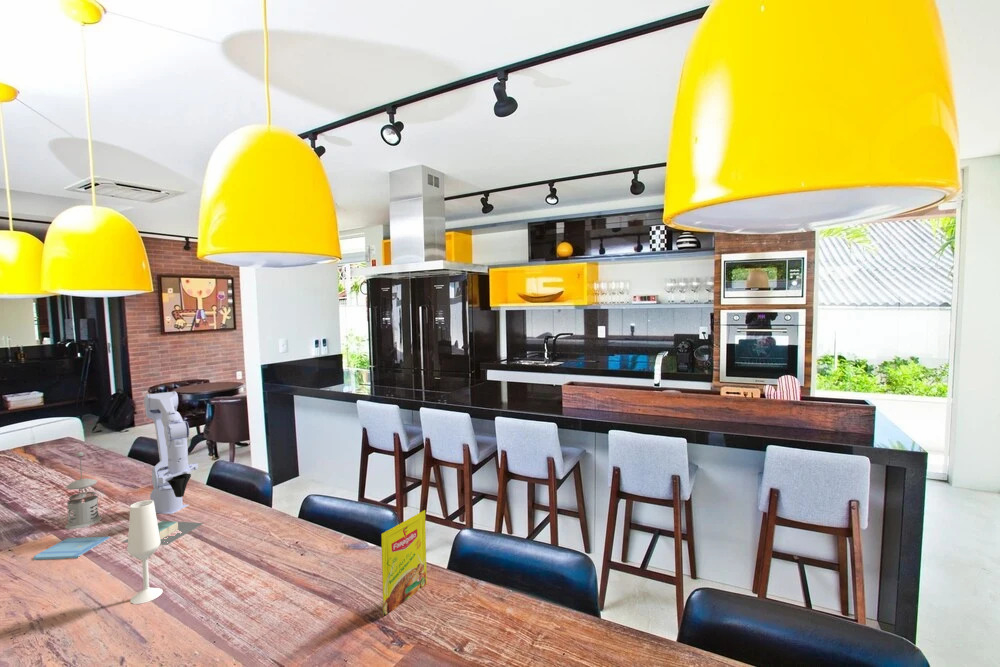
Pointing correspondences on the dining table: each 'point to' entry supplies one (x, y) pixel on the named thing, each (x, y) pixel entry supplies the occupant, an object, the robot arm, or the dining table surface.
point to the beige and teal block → (167, 528)
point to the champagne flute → (143, 544)
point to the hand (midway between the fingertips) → (179, 496)
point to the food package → (403, 561)
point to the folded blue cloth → (70, 548)
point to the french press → (82, 504)
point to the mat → (182, 527)
